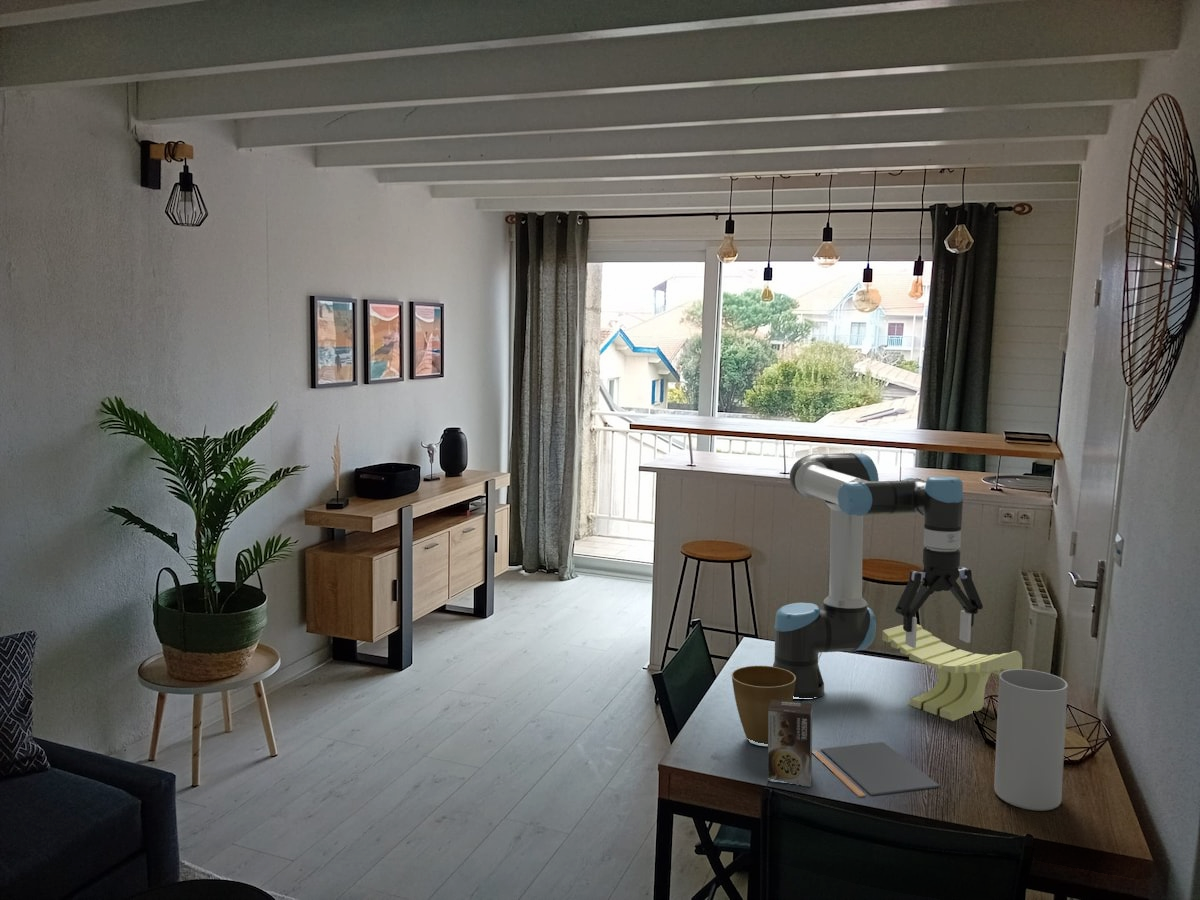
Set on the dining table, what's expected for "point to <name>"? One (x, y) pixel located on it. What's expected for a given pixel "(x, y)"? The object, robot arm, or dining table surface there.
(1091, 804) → the dining table surface
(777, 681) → the plant pot
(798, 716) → the coffee box
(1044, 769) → the cylinder vase
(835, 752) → the mat
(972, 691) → the slatted curved stool
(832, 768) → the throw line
